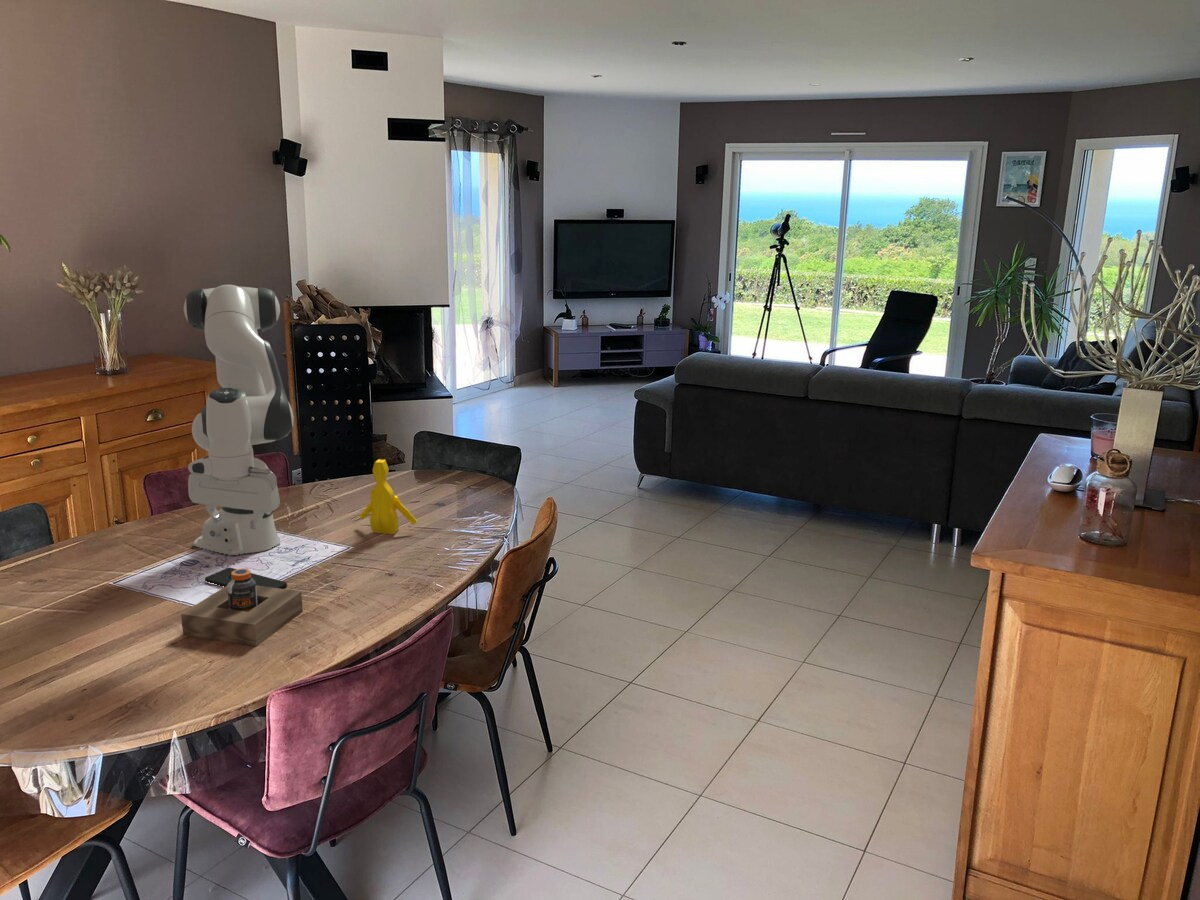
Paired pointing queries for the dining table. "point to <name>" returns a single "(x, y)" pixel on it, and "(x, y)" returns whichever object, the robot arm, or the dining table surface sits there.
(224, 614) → the walnut holder
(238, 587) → the pill bottle
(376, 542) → the dining table surface
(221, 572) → the smart home device
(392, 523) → the figure statuette
